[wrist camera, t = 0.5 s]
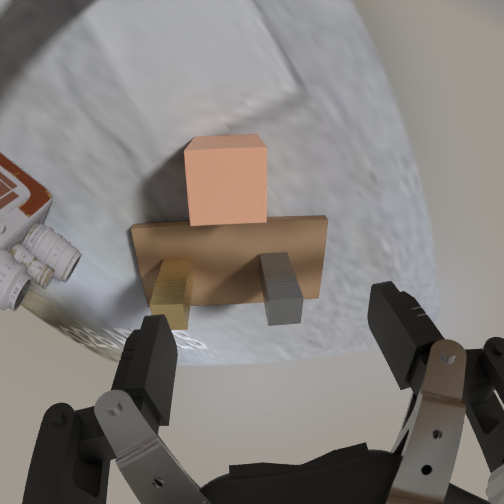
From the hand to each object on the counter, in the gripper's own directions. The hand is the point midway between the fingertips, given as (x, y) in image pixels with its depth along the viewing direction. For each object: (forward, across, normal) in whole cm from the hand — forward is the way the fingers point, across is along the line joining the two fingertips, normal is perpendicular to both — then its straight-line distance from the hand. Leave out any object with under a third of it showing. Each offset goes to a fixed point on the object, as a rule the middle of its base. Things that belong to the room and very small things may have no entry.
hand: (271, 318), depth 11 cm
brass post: (+16, +7, +6) cm, 19 cm away
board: (+17, +2, +7) cm, 19 cm away
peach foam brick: (+17, +1, -2) cm, 17 cm away
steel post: (+16, -2, +8) cm, 18 cm away
